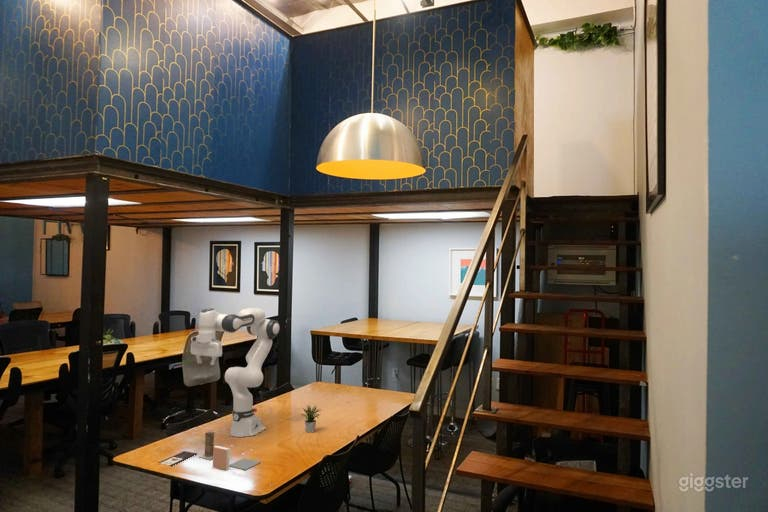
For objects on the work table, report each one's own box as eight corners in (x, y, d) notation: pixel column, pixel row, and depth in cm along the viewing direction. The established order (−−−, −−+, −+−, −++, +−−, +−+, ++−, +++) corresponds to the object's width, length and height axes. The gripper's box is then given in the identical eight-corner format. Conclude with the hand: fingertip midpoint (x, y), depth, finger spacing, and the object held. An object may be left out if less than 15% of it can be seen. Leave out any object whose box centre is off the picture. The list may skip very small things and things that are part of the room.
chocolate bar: (197, 453, 257) (172, 465, 240) (197, 455, 257) (172, 467, 240) (184, 451, 260) (157, 462, 243) (184, 452, 260) (157, 464, 243)
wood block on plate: (207, 454, 258) (208, 429, 258) (219, 456, 254) (219, 432, 255) (198, 458, 252) (199, 432, 253) (210, 460, 249) (211, 435, 249)
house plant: (317, 436, 289) (317, 408, 290) (295, 434, 292) (296, 407, 293) (325, 429, 303) (325, 402, 304) (303, 427, 306) (304, 401, 307)
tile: (215, 466, 242) (216, 445, 242) (229, 469, 238) (229, 448, 238) (212, 467, 240) (213, 446, 241) (226, 470, 236) (226, 449, 237)
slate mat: (243, 459, 251) (243, 458, 251) (260, 463, 247) (260, 462, 247) (228, 466, 241) (228, 465, 242) (245, 470, 237) (245, 469, 237)
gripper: (225, 339, 265) (224, 364, 264) (197, 336, 274) (197, 361, 273) (216, 340, 260) (215, 366, 259) (188, 337, 269) (188, 363, 268)
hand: (205, 364), depth 266 cm, fingers open, 8 cm apart
